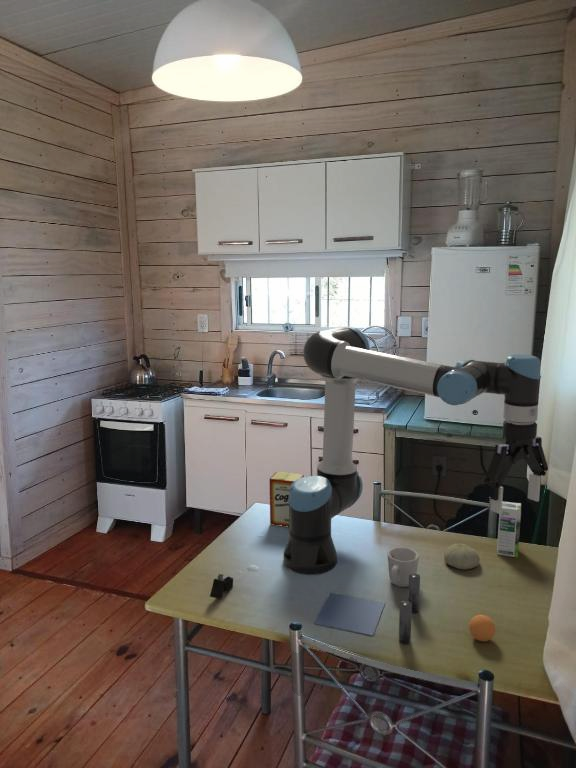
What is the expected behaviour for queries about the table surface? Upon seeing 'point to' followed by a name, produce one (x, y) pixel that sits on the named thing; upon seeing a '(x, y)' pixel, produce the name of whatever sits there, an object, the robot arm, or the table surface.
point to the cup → (402, 565)
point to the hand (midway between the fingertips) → (515, 505)
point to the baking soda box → (281, 497)
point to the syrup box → (509, 529)
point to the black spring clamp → (221, 586)
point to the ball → (482, 628)
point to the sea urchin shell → (461, 556)
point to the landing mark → (350, 613)
